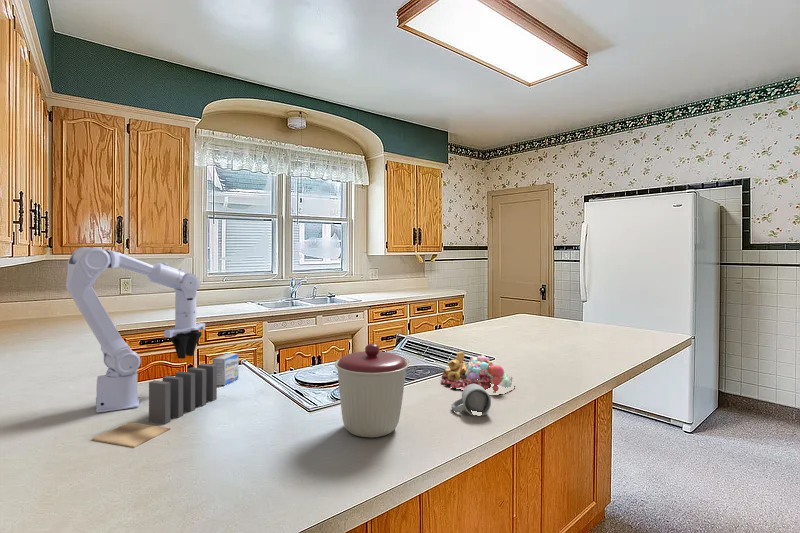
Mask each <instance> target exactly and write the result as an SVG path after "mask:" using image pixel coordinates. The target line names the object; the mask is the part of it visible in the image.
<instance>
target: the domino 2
mask: <svg viewBox="0 0 800 533" xmlns="http://www.w3.org/2000/svg"><path fill="white" fill-rule="evenodd" d="M162 381H164V382H170V418H177V419H179V418H182V417H183V416H184V411H183V377H175V375H174V376H171V375H166V376H163V377H162Z"/></svg>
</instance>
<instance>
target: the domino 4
mask: <svg viewBox="0 0 800 533" xmlns="http://www.w3.org/2000/svg"><path fill="white" fill-rule="evenodd" d="M186 372H190V373H195V407H196V406H197V407H203V406H206V405H207V400H206V369H202V368H198V367H188V368H187V369H186Z"/></svg>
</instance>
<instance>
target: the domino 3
mask: <svg viewBox="0 0 800 533" xmlns="http://www.w3.org/2000/svg"><path fill="white" fill-rule="evenodd" d="M174 377H183V412H188V413H192V412H194V411H196V406H195V373H190V372H187V371H177V372H175V373H174Z"/></svg>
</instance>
